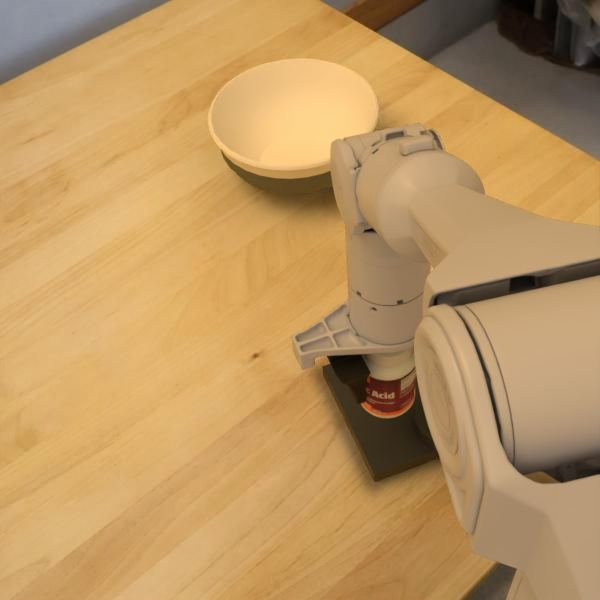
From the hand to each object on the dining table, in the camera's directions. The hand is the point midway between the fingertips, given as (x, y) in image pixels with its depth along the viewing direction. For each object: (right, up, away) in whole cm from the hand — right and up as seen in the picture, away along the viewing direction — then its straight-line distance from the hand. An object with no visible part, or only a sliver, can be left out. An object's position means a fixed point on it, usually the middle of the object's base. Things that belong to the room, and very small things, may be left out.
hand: (387, 382), depth 70 cm
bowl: (-7, +22, +29) cm, 37 cm away
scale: (+2, -3, +8) cm, 8 cm away
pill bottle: (0, -1, +2) cm, 2 cm away
